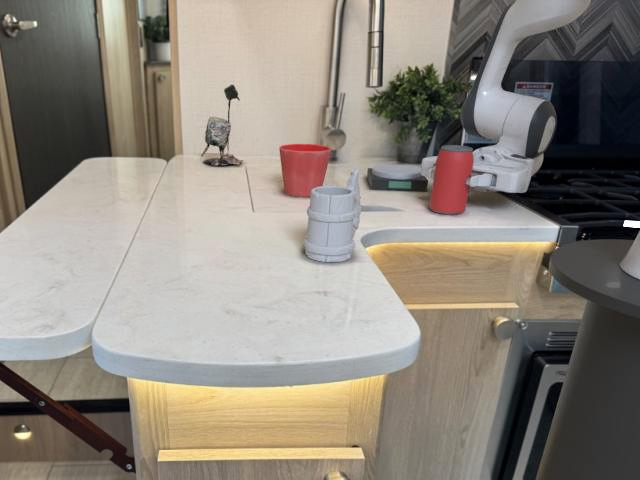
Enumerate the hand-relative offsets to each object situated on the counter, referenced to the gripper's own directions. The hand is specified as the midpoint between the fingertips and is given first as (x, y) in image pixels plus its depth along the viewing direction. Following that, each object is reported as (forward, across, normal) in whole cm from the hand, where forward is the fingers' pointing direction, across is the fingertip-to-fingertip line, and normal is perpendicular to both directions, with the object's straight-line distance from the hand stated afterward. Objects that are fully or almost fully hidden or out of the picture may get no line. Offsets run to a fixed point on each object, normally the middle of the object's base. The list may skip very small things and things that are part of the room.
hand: (449, 178), depth 105 cm
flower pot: (+11, -28, +7) cm, 30 cm away
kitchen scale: (-12, -20, +6) cm, 24 cm away
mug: (+33, +2, +7) cm, 34 cm away
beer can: (-1, 0, +7) cm, 7 cm away
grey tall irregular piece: (+5, -64, +7) cm, 64 cm away
